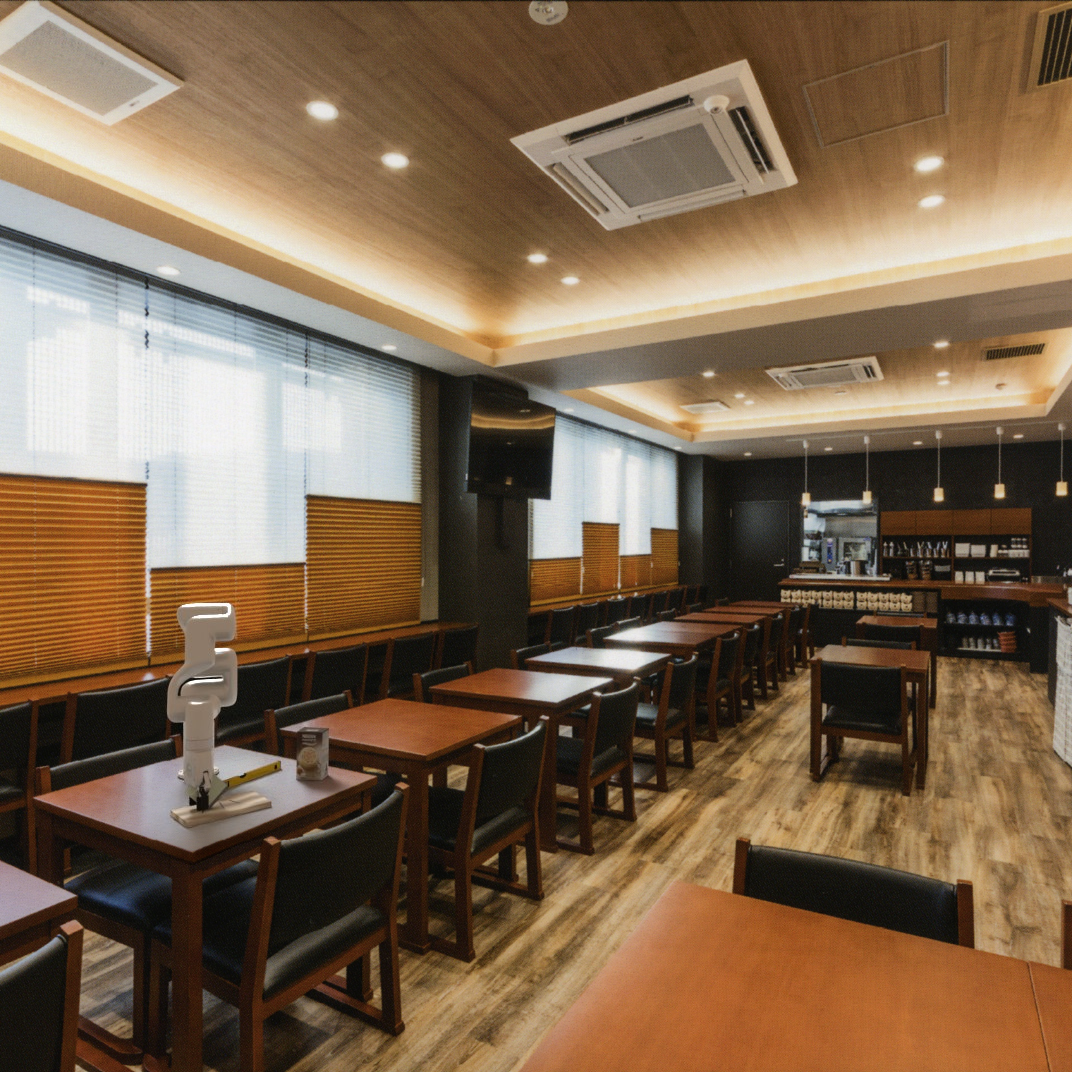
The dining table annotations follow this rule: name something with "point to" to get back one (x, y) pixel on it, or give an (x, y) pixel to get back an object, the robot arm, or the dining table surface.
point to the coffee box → (312, 753)
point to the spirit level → (253, 774)
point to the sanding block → (214, 794)
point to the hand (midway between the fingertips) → (198, 806)
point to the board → (221, 809)
